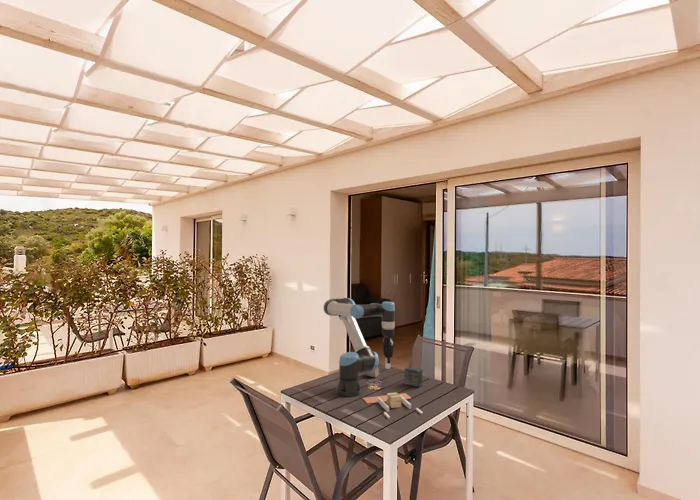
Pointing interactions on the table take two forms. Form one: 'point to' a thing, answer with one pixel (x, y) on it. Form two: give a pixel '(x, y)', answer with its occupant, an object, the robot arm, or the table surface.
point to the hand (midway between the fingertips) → (387, 368)
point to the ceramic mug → (373, 373)
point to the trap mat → (384, 398)
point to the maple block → (393, 400)
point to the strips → (389, 416)
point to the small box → (413, 377)
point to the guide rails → (388, 406)
